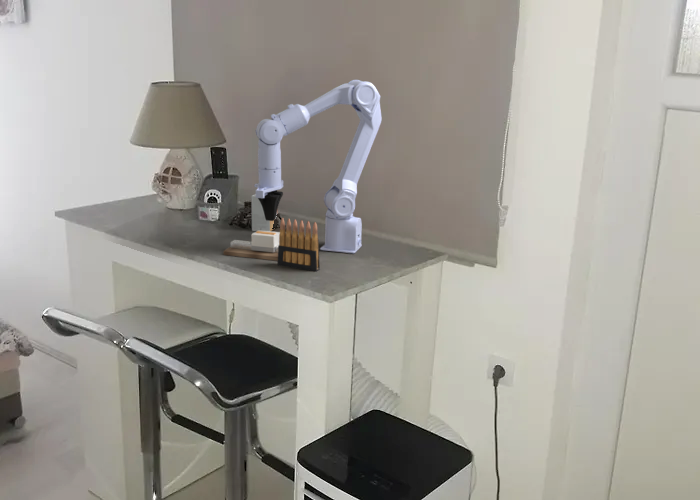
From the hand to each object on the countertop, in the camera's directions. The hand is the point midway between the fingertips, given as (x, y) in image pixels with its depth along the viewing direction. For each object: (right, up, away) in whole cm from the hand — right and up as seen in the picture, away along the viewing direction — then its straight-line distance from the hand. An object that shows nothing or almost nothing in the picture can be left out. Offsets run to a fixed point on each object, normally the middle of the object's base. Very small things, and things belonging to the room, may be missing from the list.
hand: (270, 220), depth 179 cm
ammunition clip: (+8, -12, -9) cm, 17 cm away
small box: (-4, -2, +25) cm, 25 cm away
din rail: (-2, -9, +1) cm, 9 cm away
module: (-1, -7, 0) cm, 8 cm away
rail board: (-2, -9, +1) cm, 9 cm away
